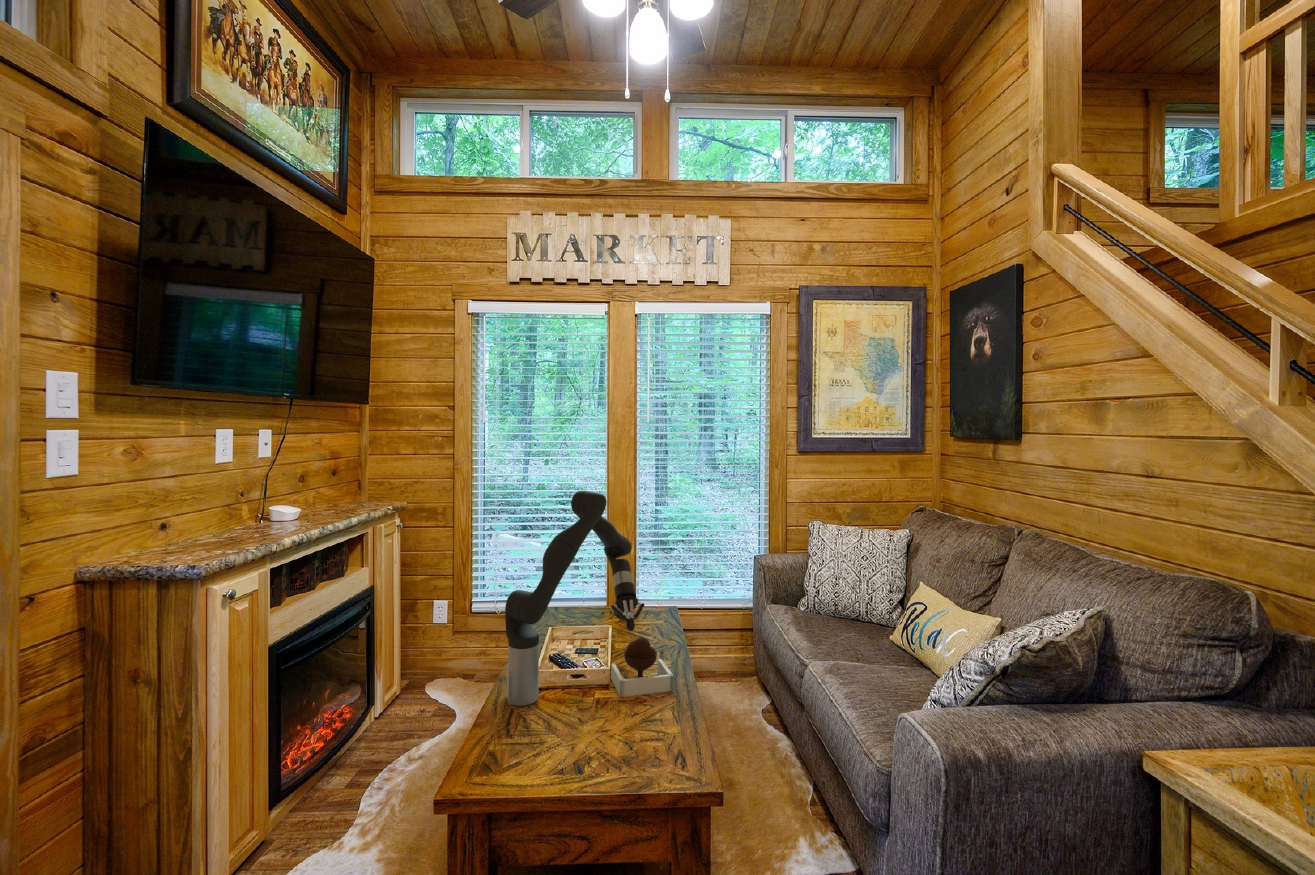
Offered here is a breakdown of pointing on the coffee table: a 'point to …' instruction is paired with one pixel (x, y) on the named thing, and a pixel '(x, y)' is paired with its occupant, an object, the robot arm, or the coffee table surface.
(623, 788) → the coffee table surface
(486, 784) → the coffee table surface
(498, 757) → the coffee table surface
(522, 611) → the robot arm
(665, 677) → the corral
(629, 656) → the ice cream bowl
